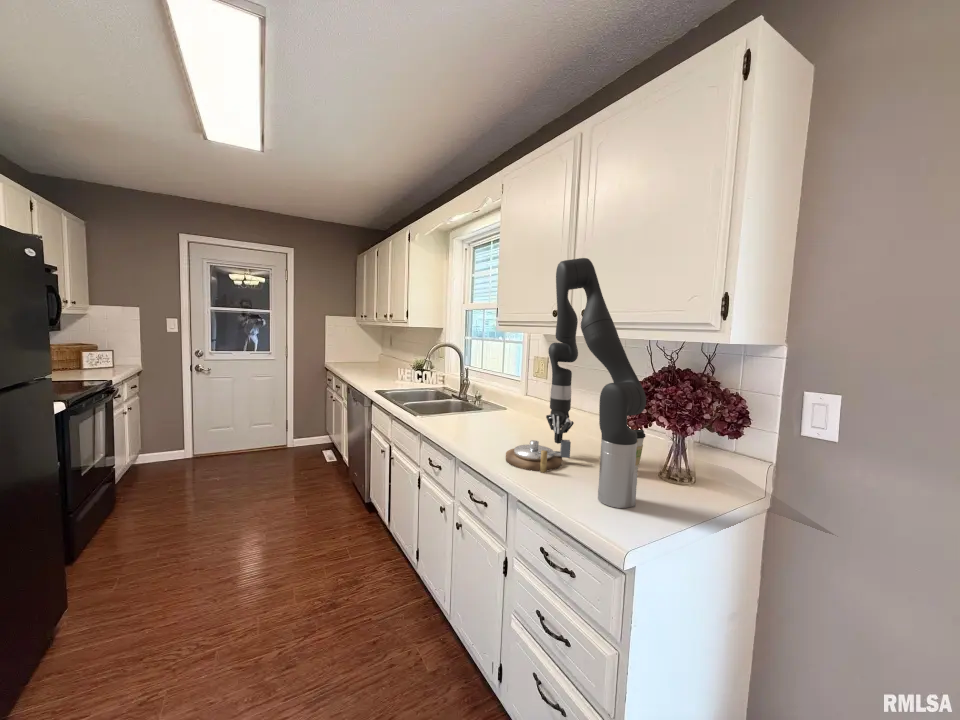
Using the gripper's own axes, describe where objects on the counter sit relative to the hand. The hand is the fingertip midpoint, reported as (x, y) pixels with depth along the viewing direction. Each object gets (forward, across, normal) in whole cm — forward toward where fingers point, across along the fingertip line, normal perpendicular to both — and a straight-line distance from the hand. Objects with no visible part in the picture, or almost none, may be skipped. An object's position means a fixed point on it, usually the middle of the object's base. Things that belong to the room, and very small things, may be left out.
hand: (558, 442), depth 146 cm
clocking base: (+5, 0, -11) cm, 13 cm away
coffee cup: (+5, +23, +10) cm, 26 cm away
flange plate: (+3, +2, -9) cm, 10 cm away
